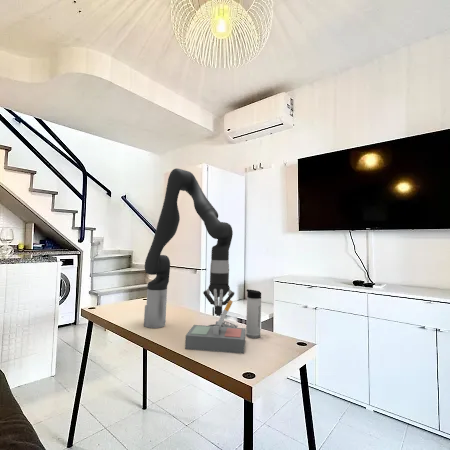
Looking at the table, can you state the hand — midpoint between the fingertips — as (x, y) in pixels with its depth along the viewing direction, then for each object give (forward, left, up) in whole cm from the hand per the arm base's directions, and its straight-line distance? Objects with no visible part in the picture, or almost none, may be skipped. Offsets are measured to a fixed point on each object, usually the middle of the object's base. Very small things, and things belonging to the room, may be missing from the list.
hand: (218, 315), depth 112 cm
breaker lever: (0, 0, -5) cm, 5 cm away
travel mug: (+14, +14, -12) cm, 23 cm away
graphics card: (-3, +16, -12) cm, 21 cm away
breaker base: (0, 0, -11) cm, 11 cm away
